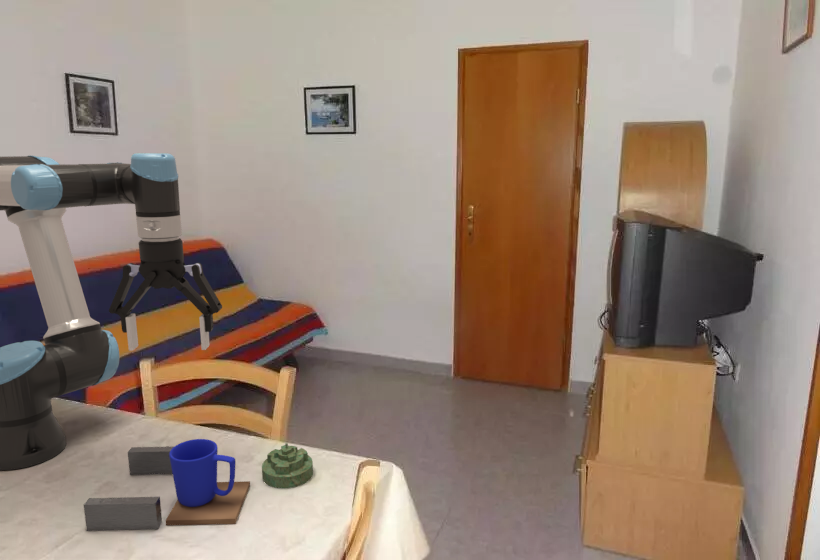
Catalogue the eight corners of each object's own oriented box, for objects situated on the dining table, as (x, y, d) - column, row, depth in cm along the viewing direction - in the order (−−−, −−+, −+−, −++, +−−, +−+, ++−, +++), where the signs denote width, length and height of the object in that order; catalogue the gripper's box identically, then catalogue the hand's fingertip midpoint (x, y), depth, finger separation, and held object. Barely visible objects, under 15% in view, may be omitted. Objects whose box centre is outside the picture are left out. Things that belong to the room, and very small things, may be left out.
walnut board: (187, 487, 115) (187, 482, 115) (250, 485, 116) (250, 481, 116) (165, 525, 104) (165, 520, 103) (235, 523, 104) (235, 518, 104)
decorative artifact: (255, 487, 116) (305, 490, 115) (253, 454, 114) (304, 457, 113) (271, 461, 126) (318, 464, 125) (270, 430, 124) (317, 433, 123)
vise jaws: (139, 462, 125) (137, 440, 123) (197, 461, 125) (196, 439, 124) (86, 530, 102) (83, 504, 101) (157, 529, 103) (155, 503, 102)
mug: (225, 517, 104) (221, 466, 102) (164, 508, 107) (159, 457, 105) (247, 492, 112) (244, 443, 110) (190, 484, 115) (186, 436, 113)
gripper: (81, 241, 106) (94, 355, 110) (223, 241, 107) (230, 353, 111) (100, 235, 113) (112, 342, 117) (233, 235, 114) (239, 341, 119)
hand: (169, 348), depth 114 cm, fingers open, 13 cm apart
